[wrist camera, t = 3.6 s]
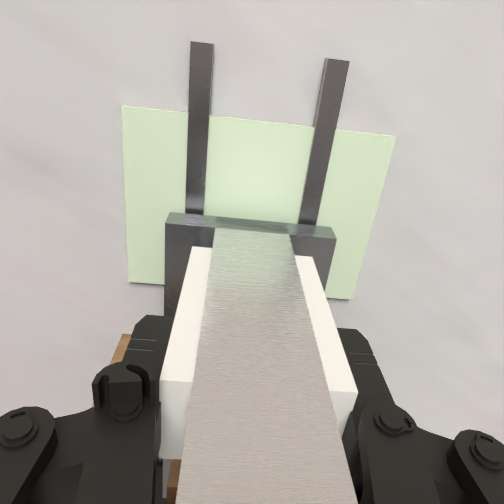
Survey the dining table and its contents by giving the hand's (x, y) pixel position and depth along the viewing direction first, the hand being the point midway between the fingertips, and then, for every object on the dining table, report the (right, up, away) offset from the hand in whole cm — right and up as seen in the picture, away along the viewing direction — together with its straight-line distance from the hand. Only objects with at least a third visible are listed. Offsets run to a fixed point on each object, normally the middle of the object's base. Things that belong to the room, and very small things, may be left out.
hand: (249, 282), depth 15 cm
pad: (0, +3, +2) cm, 4 cm away
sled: (-1, -6, +6) cm, 8 cm away
